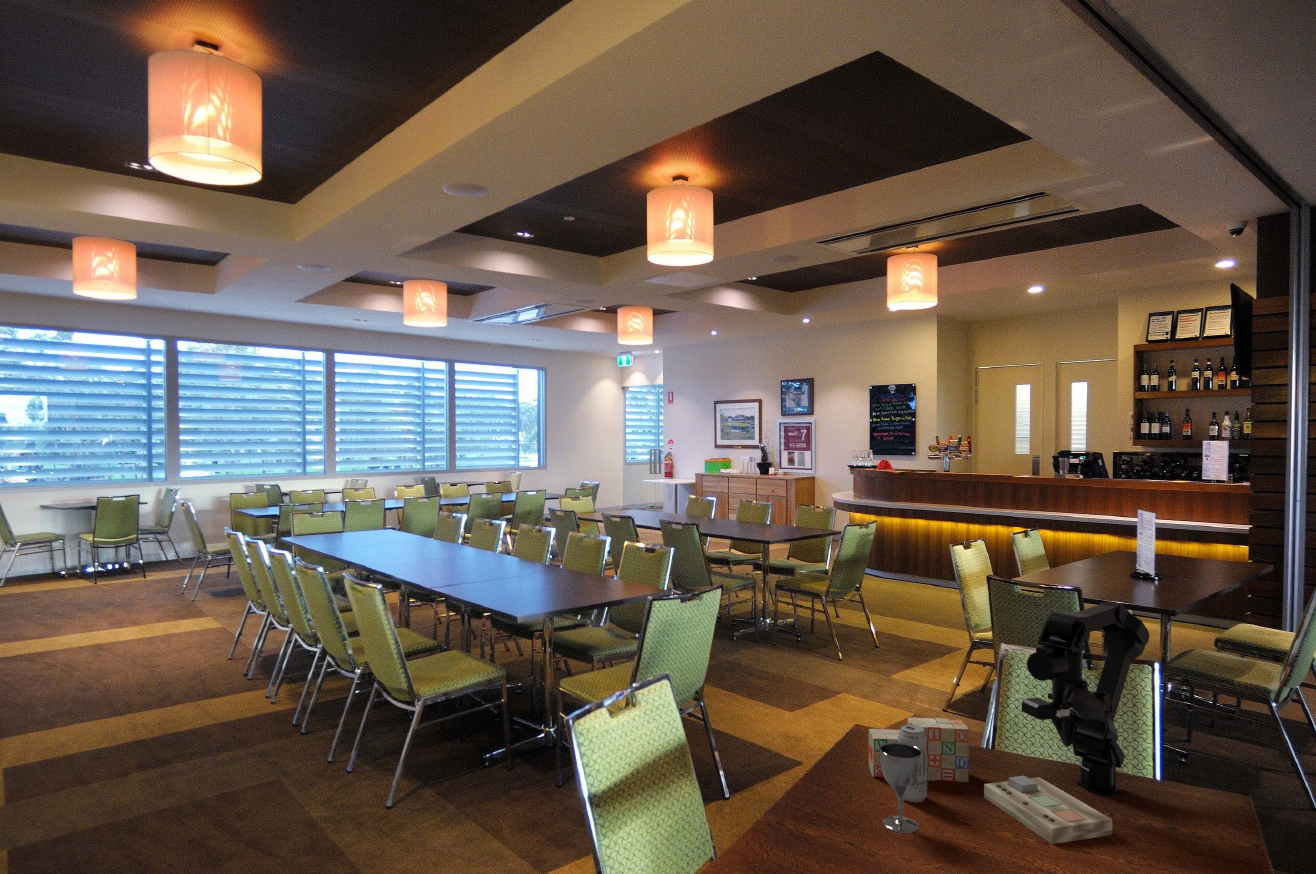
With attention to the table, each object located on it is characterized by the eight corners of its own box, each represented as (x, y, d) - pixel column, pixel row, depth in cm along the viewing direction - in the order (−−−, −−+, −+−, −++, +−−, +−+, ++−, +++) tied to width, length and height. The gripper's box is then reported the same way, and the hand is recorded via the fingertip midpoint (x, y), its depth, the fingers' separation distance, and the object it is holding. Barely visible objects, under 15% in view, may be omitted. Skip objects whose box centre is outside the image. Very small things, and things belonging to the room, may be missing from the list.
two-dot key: (1069, 819, 158) (1069, 809, 158) (1085, 828, 154) (1085, 818, 154) (1053, 821, 157) (1052, 811, 157) (1068, 831, 153) (1068, 821, 153)
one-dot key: (1046, 804, 164) (1046, 795, 164) (1060, 813, 160) (1060, 804, 160) (1030, 806, 163) (1029, 797, 163) (1043, 815, 159) (1043, 806, 159)
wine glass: (882, 832, 155) (882, 756, 155) (877, 813, 163) (878, 741, 163) (924, 836, 153) (924, 759, 153) (917, 816, 161) (917, 743, 161)
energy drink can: (916, 806, 166) (916, 735, 166) (892, 796, 170) (892, 727, 171) (932, 798, 169) (932, 729, 169) (908, 789, 174) (908, 721, 174)
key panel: (1038, 790, 173) (1038, 776, 173) (1112, 835, 154) (1112, 818, 154) (984, 798, 170) (984, 783, 170) (1052, 844, 150) (1052, 827, 150)
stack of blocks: (872, 778, 180) (872, 725, 180) (868, 767, 186) (868, 715, 186) (969, 782, 178) (969, 728, 178) (961, 771, 184) (961, 718, 184)
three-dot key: (1024, 784, 171) (1024, 775, 171) (1037, 792, 167) (1037, 783, 167) (1008, 786, 170) (1008, 777, 170) (1021, 794, 166) (1021, 785, 166)
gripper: (1058, 687, 158) (1058, 765, 158) (1133, 680, 163) (1134, 756, 163) (1019, 671, 169) (1019, 744, 169) (1091, 665, 173) (1091, 736, 173)
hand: (1066, 745), depth 168 cm, fingers closed
